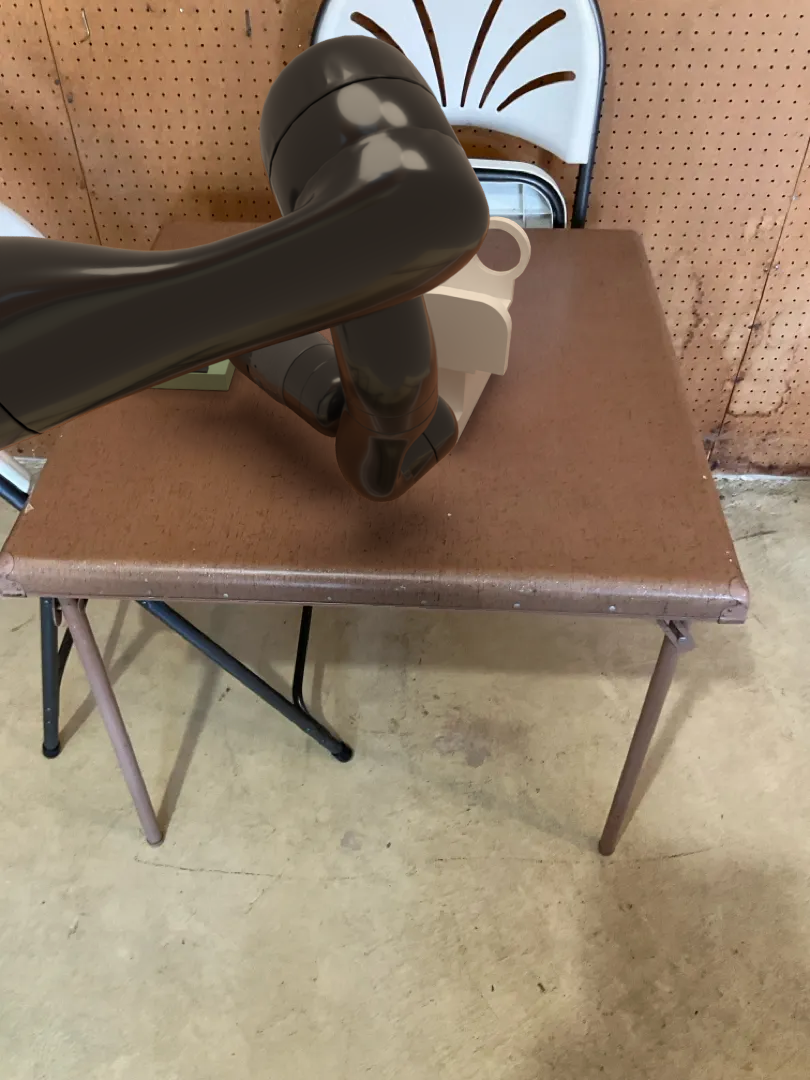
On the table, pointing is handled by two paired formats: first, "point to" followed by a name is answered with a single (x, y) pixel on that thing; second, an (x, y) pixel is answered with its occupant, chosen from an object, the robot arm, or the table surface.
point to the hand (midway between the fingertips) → (196, 289)
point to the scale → (204, 378)
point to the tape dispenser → (474, 325)
